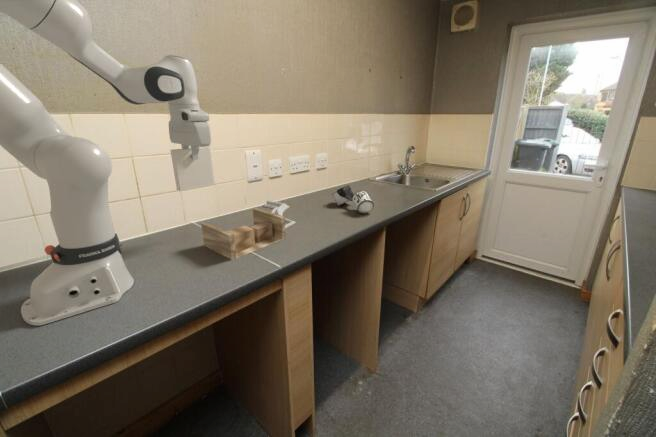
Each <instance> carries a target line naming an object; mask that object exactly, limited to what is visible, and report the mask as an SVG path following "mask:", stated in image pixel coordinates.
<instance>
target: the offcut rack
mask: <svg viewBox="0 0 656 437" xmlns="http://www.w3.org/2000/svg"><path fill="white" fill-rule="evenodd" d="M252 217H253V219H252V220H253V224H252V225H250V226H253V225H256V224H259V223H262V222H267V223H270V224H272V230H273V237H272V238H270V239H267V240H265V241H262V242H260V243H257V242H255V246H253V247H251V248H248V249H245V250H243V251H240V252H238V253H236V251H235V241H234V234H233V233H230V232H228V231H229V230H225V229H223V228H221V227H219V226H215V225H213V224H211V223H208V222H206V221H205V222H201V223H200V224H201V225H200V226H201V232H202V239H203V244H204V247H206V248H208V249H210V250H211V251H214V252H215V253H218V254H220V255H221V256H224V257H226V258H228V259H230V260H232V261H233V260H235V259H238V258H240V257H243V256H245V255H247V254H250V253H253V252H255V251H257V250H259V249H263V248H265V247H268V246H271V245H272V244H274V243H277V242H279V241H282V240H285V239H286V238H287V235H286V228H285V225H286V221H285V218H286V217H285V216H284V215H283V216H281V215H278V214H274V213H271V211H267V210H264V209H261V208H257V207H254V208H252ZM250 226H248V227H250Z"/></svg>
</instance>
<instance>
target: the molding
mask: <svg viewBox="0 0 656 437" xmlns="http://www.w3.org/2000/svg"><path fill="white" fill-rule="evenodd" d="M262 207H263V208H268V209H272V210H271V211H270V212H271V213H274V214H278V215H281V216H284V215H283V213H284V212H286V210H287V209H289V208H290V205H288V204H286V203H283V202H278V201H272V200H267V201H266V203H265V204H263V206H262ZM294 224H297V222H296V221H294V220H291V219H289V218H286V217H285V229H287V228H289V227H291V226H294Z"/></svg>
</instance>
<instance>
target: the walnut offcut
mask: <svg viewBox="0 0 656 437" xmlns="http://www.w3.org/2000/svg"><path fill="white" fill-rule="evenodd" d="M252 225H253V226H252ZM252 225H250V228H253V229H254V236H255V242H257V243H260V242H262V241H265V240H267V239H270V238H272V237H273V230H272V224H270V223H267V222H262V223H259V224H256V225H254V224H252Z"/></svg>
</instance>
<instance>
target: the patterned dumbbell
mask: <svg viewBox="0 0 656 437" xmlns="http://www.w3.org/2000/svg"><path fill="white" fill-rule="evenodd" d="M331 195H332V197H333V199H334V201H335V204H336V205H337V207H339V206H342V205H343V204H346V203H347V202H349V201H350V202H352V203H353V205H354V206H355V208H356V210H357V212H358V213H359V214H361V215H364V214H366V215H367V214H369V213H370V212H371V211H372V210H374V206H375V204H374V202H373V201H372V199H371V197H370V195H369V194H368V193H367V191H365V190H357V191H356V192H355V193H354V192H353V191H352V188H351V186H350V184H349V185H345V186H343V187H340V188H338V189H337V190H336V191H335V192H333V193H332V194H331Z"/></svg>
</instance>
